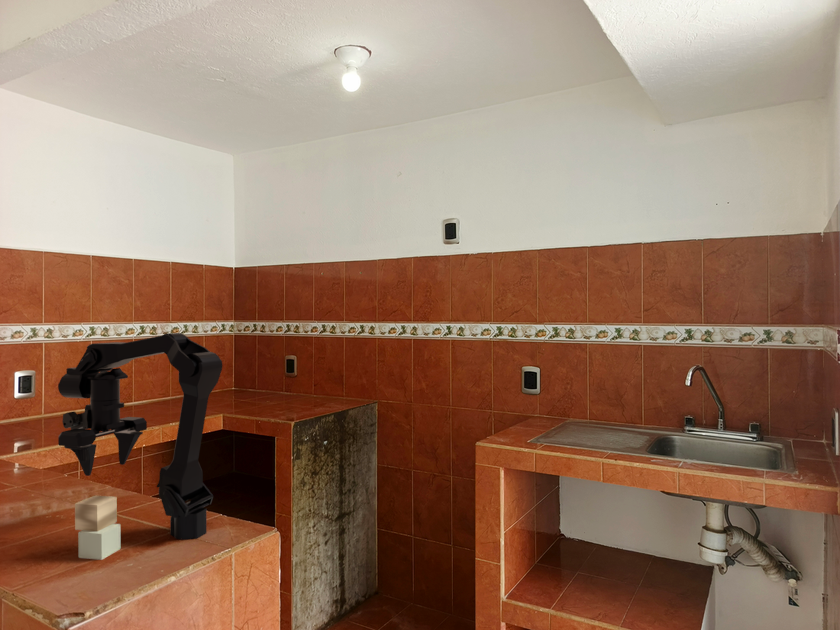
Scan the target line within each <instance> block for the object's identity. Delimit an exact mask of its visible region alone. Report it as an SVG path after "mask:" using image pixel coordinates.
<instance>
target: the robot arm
mask: <svg viewBox="0 0 840 630" xmlns="http://www.w3.org/2000/svg"><path fill="white" fill-rule="evenodd" d="M162 354H165V355H166V357H167V359H168V361H169V363H170V365H171V366H172V367H173V368H175V369H176V370H177V371H178V383H179V386H180V388H181V390H182V393H183V397H182V404H181V408H180V416H179V422H178V427H177V434H176V440H175V446H174V452H173V458H172V461H171V463H170V464H169V465H166V466H163V467H160V471H159V479H158V483H157V485H156V488H158V496H159V498H160V500H161V503H162V507H163V510H164V514H165V516H167V517H168V516H169V517H170V519H169V520H170V533H169V534H170V536H171V537H174V538H175V539H176V540H180V541H187V540H193V539H194V540H197V539H200V538H201V537H203V536H205V535H206V534H207V508H205V507H207V506H210V505H212V502H213V499H214V495H213V493H212V492H211V491H210V489H209V488H208V486H206V484H205V483H204V482H203V481H204V480H203V476H204V474H203V473H204V472H203V469H202V467H201V464H200V462H199V457H200V451H201V446H202V438H203V434H204V433H203V432H204V427H205V421H206V415H207V408H208V402H209V397H210V395H211V393H212V392H213V391H214V389H215V387H216V385H217V384H218V382H219V379H220V376H221V373H222V370H223V360H222V359H221V358H220V357H219V355H218V354H217V353H215V352H213V351H210V350H209V349H208V348H206V347H205V346H203V345H202V344H199V343H197V342H195V341H194V340H191V338H190V337H188V336H187V335H186V334H184V333H181V332H170V333H169V332H168V333H164V334H162V335H158V336H154V337H153V336H152V337H148V338H144V339H143V338H142V339H138V340H133V341H127V342H124V341H123V342H122V341H121V342H119V341H118V342H117V341H115V342H99V343H97V342H96V343H91V344H88V345H87V346H86V349H85V352H84V354H83V356H82V357H81V359H80V360H79V362H78V363H77V366H76V367H75V366H73V367H67V368H66V373H65V374H64V375H62V377H61V378H60V380H59V382H58V384H57V389H58V393H59V394H60V395H61V396H62V397H65V398H70V399H90V400H89V401H90V402H89V403H90V404H89V403H88V404H85V407H84V411H83V412H80V413H76V411H69V412H66V413H65V412H64V413H62V425H63V428H65V429H68V430H63V431H61V433H60V434H58V439H57V440H58V447H59V446H60V447H61V446H63V447H64V448H65V449H67V450H68V449H69V450H70V451H72V452H73V453H74V455H75V456H76V457H77V459H78V462H79V464H80V467H81V468H82V471H83V474H84V475H85V476H86V477H87V476H88V477H90V476H91V475H92V472H93V467H94V462H95V456H96V451H97V443H94V442H95V441H96V438H101V437H104V436H107V435H111V434H113V435H114V437H115V438H116V439H117V444H118V445H117V446H118V447H117V448H118V449H117V450H118V461H119V465H121V466H123V465H125V464H126V462H127V461H128V458H129V456H130V454H131V453H132V450H133V449H134V446H135V444H136V443H137V442H138V439H139V438H140V436H142V435H144V434H143V431H145V430H147V428H148V425H147V424H148V422H147V420H146V419H145V417H138V416H136V417H135V416H125V417H122V418H121V409H123V408H125V402H121V393H120V391H121V385H120V384H121V380H123V379H124V380H125V379H128V377H129V376H128V374H127V373H126V372H124V371H123V370H122V368H120V367H122V366H125V365H126V364H129V363H130V362H131V361H133V360H136V359H142V358H145V357H151V356H156V355H162ZM69 428H70V429H69Z"/></svg>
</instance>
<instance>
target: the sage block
mask: <svg viewBox="0 0 840 630" xmlns="http://www.w3.org/2000/svg"><path fill="white" fill-rule="evenodd" d="M77 534H78V538H77V539H78V559H88V560H89V559H90V560H98V561H99V560H101V561H103V560H104V559H106V558H107V557H109V556H111V555H113V554H114V553H116V552H118V551H119V550H121V549H122V548H121V523H114V524H112V525H109V526H107V527H105V528H103V529H101V530H99V531H87V530H79V531H78V533H77Z"/></svg>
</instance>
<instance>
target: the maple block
mask: <svg viewBox="0 0 840 630" xmlns="http://www.w3.org/2000/svg"><path fill="white" fill-rule="evenodd" d="M117 499H118V498H117V496H111V495H110V496H106V495H93V496H90V497H88V498H86V499H85V498H84V499H83V500H81V501H78V502H76V503H74V529H75V531H82V530H87V531H99V530H101V529H103V528H105V527H107V526H109V525H112V524H117V522H118V518H117V517H118V516H117V515H118V514H117V513H118V512H117V510H118V508H117V507H118V506H117V505H118V504H117Z"/></svg>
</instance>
